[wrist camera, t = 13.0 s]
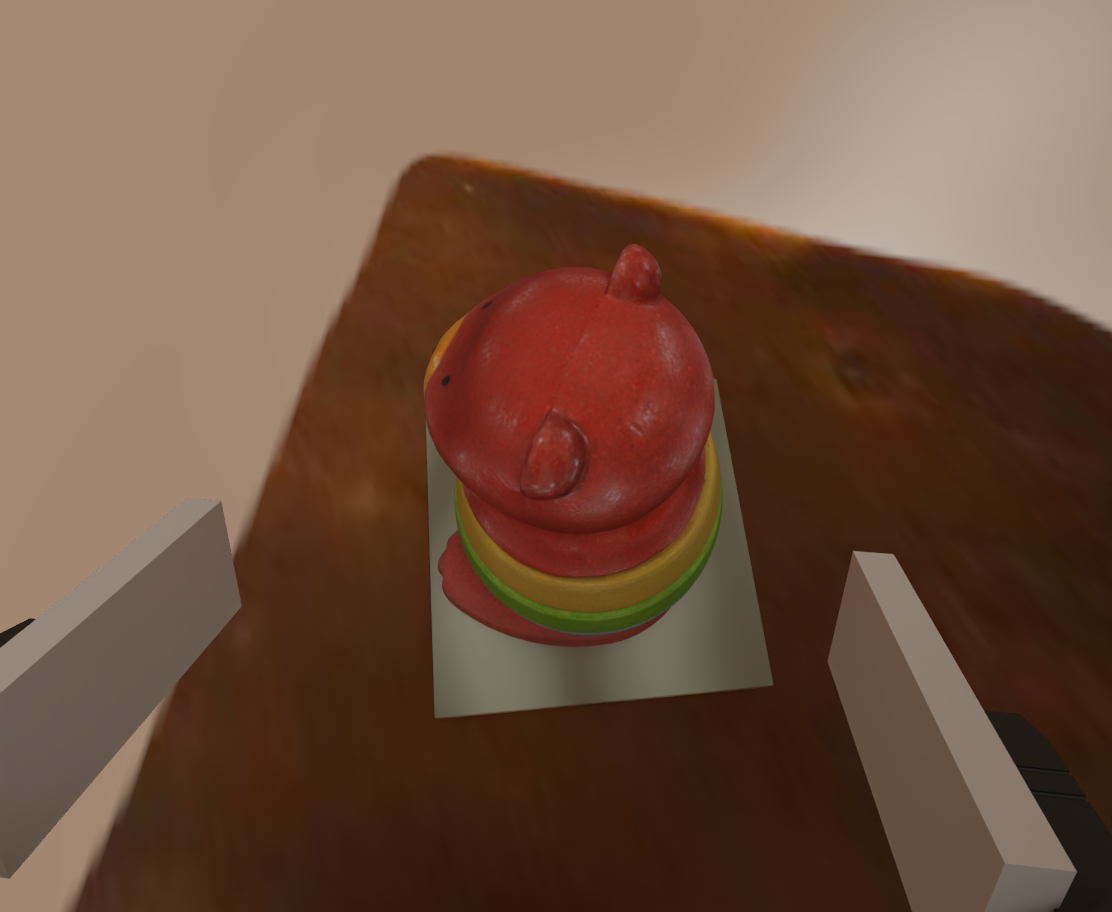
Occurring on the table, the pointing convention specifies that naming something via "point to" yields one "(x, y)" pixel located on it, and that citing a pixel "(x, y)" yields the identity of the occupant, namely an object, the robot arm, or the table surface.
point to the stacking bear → (575, 454)
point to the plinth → (611, 669)
